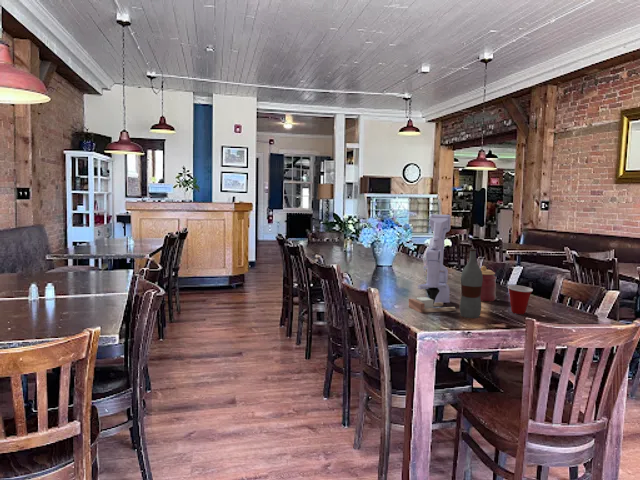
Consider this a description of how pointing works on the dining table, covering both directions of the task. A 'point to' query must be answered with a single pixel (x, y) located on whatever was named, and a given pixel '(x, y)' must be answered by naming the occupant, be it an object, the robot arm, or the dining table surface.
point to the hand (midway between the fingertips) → (431, 303)
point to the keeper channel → (420, 308)
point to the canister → (488, 285)
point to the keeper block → (426, 301)
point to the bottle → (471, 288)
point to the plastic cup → (519, 298)
